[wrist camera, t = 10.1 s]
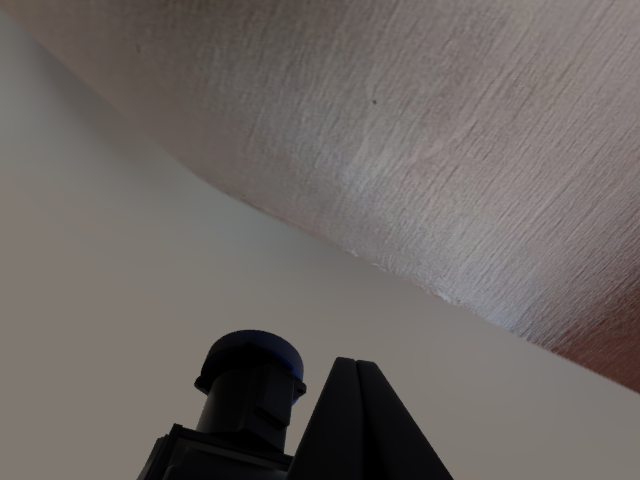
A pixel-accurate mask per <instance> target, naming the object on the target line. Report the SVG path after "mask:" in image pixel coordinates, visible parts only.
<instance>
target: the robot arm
mask: <svg viewBox="0 0 640 480" xmlns="http://www.w3.org/2000/svg"><path fill="white" fill-rule="evenodd" d="M247 348H250V349H247ZM194 386H195V387H196V388H197V389H198V390H200V391H201V392H203V393H204V394H206V395H207V396H208V398H207V401H206V403H205V406H204V409H203V411H202V414H201V417H200V419H199V422H198V425H197V428H196V430H192V429H188V428H184V427H182V425H179V424H176V423H174V425H173V427H172V429H171V431H170V433H169V435H168V434H166V435H165V437H161V438H158V439H157V441H156V443H155V445H154V447H153V450H152V452H151V454H150V456H149V458H148V460H147V462H146V464H145V466H144V468H143V470H142V471H141V473H140V475H139V476H138V478H137V480H453V478H452V476H451V475H450V473H449V472H448V470H447V469H446V468H445V466H444V464H443V463H442V462H441V460H440V458H439V457H438V455H437V454H436V452H435V451H434V449H433V448H432V447H431V445H430V443H429V442H428V441H427V439H426V437H425V436H424V435H423V433H422V432H421V430H420V429H419V427H418V426H417V424H416V423H415V421H414V420H413V418H412V417H411V415H410V414H409V412H408V411H407V409H406V408H405V406H404V405H403V403H402V402H401V400H400V399H399V397H398V396H397V394H396V393H395V391H394V390H393V388H392V387H391V385H390V384H389V382H388V381H387V379H386V378H385V376H384V375H383V373H382V372H381V370H380V369H379V367H378V366H377V365H376V364H375V363H374V362H370V361H363V360H357V361H356V362H355V360H354V359H350V358H344V357H337V358H336V360H335V362H334V364H333V367H332V369H331V371H330V374H329V376H328V379H327V381H326V383H325V385H324V388H323V390H322V392H321V395H320V397H319V399H318V402H317V404H316V406H315V409H314V411H313V414H312V416H311V418H310V421H309V423H308V425H307V428H306V430H305V432H304V435H303V437H302V439H301V442H300V444H299V446H298V449H297V451H296V454H295V456H290V455H287V454H284V447H285V438H286V430H287V426H289V424H290V417H291V407H292V402H293V401H295V400H296V399H298V398H299V397H301V396H303V395H304V394H305V393H306V390H307V386H306V384H305V383H303V382H302V381H301V380H300V379H298V378H297V377H296V376H294V375H293V374H292V373H291V372H289V371H288V370H287V369H286V368H284V367H283V366H282V365H281V364H279V363H278V362H277V361H275V360H274V359H273V358H272V357H270V356H269V355H268V354H267V353H265V352H264V351H263V350H262V349H260V348H259V347H258V346H257V345H255V344H254V343H252V342H245V343H243V344H242V345H241V346H239V347H238V348H237V349H235V350H234V351H233V352H231V353H230V354H229V355H227V356H226V357H224V358H223V359H222V360H220V361H219V362H218V363H216V364H215V365H214V366H212V367H211V368H210V369H208V370H207V371H206V372H204V373H203V374H202V375H200V376H199V377H198V378H197V379H196V381H195V383H194Z"/></svg>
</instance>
